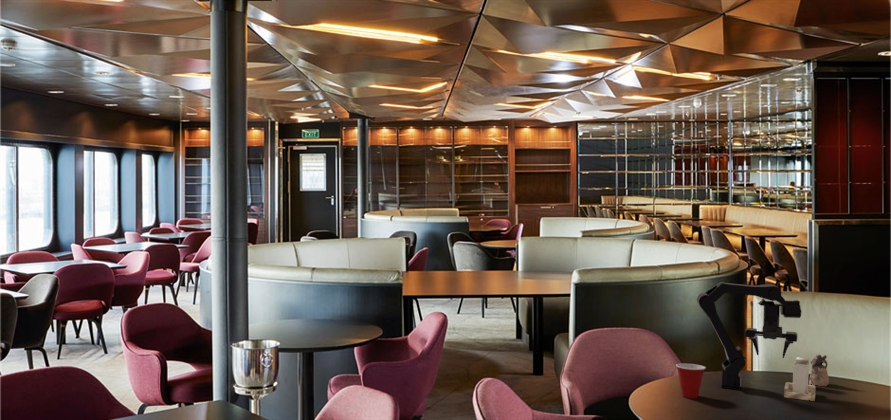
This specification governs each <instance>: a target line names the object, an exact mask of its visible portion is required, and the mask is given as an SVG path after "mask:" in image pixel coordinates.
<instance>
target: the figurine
mask: <svg viewBox="0 0 891 420" xmlns="http://www.w3.org/2000/svg"><path fill="white" fill-rule="evenodd" d="M827 358H828V356H827V355H826V354H825V355H823V356H822V355H821V354H819V353H818V354H816V355H815V356H814V357H812V361H810V364H811V371H810V376H809V378H808V384H809V385H811V384H812V385H814V386H815V385H818V386H817V387H827V385H828V386H829V382H830V380H829V379H830V378H829V373H828V370H827V368H828V361H827V360H826V359H827ZM823 363H824V364H825V365H824V364H823Z"/></svg>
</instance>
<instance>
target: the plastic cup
mask: <svg viewBox="0 0 891 420" xmlns="http://www.w3.org/2000/svg"><path fill="white" fill-rule="evenodd" d="M675 367H676V369H677V374H678V379H679V386H680V390H681V395H682V397H683V398H685V399H697V398H698V397H699V394H700V389H701V385H702V379H703V375H704V372H705V369H706V366H704V365H700V364H695V363H677V364H675Z"/></svg>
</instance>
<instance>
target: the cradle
mask: <svg viewBox="0 0 891 420" xmlns="http://www.w3.org/2000/svg"><path fill="white" fill-rule="evenodd" d="M809 361H810V359H809V358H808V357H798V356H797V357H795V363H798V364H805V365H808V372H809V367H810V366H809V363H810V362H809ZM816 387H817V386H815V385H811V384H808V394H802V393H794V392H793V382H789V381H787V382H785V385H784V389H783V390H784V392H783V393H784V394H783V397H784V398H788V399H796V400H803V401H809V400H810V401H812V402H815V401H816V389H817V388H816Z"/></svg>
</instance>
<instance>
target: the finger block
mask: <svg viewBox="0 0 891 420" xmlns="http://www.w3.org/2000/svg"><path fill="white" fill-rule="evenodd" d="M792 383H793V392H794V393H802V394H808V385H809V371H808V365H805V364H798V363H796V362H795V363H794V364H793V366H792Z"/></svg>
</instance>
